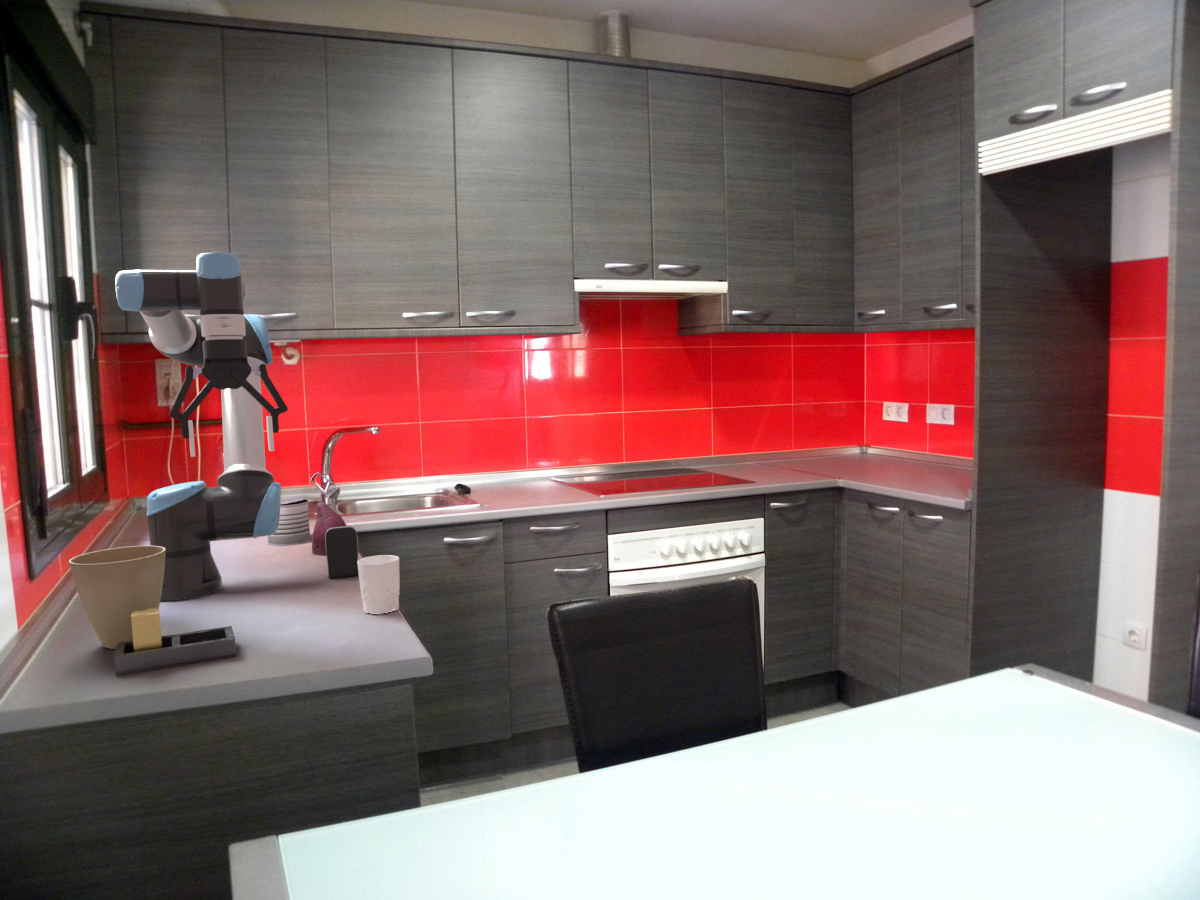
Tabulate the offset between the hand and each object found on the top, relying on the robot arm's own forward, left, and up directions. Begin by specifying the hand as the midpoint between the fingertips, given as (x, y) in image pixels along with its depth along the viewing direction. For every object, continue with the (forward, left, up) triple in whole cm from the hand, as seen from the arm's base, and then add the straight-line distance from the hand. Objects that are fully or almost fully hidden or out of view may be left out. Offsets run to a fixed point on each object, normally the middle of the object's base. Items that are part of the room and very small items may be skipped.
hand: (232, 453), depth 167 cm
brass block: (+19, -16, -31) cm, 40 cm away
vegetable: (-55, +25, -32) cm, 68 cm away
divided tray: (+19, -12, -32) cm, 39 cm away
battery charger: (-25, +23, -32) cm, 47 cm away
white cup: (+8, +24, -32) cm, 41 cm away
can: (-75, +17, -32) cm, 83 cm away
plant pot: (+4, -20, -32) cm, 38 cm away
